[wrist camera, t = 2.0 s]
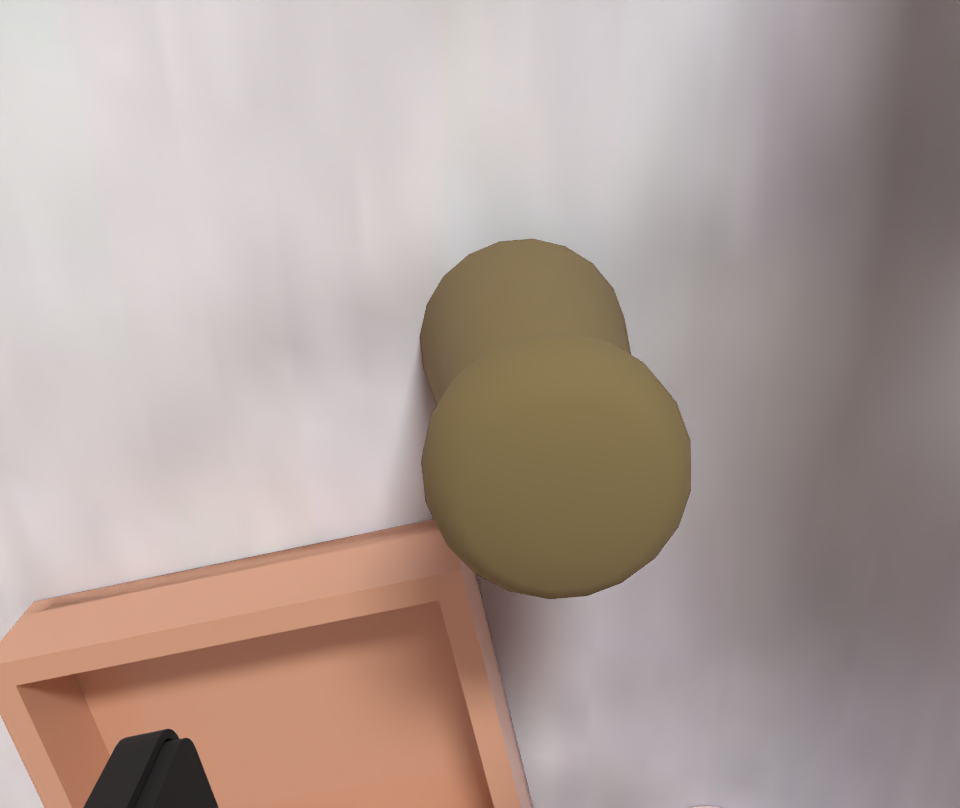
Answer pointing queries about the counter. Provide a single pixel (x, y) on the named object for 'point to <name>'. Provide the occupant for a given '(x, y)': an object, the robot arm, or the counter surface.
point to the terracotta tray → (277, 679)
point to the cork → (546, 426)
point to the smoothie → (705, 807)
